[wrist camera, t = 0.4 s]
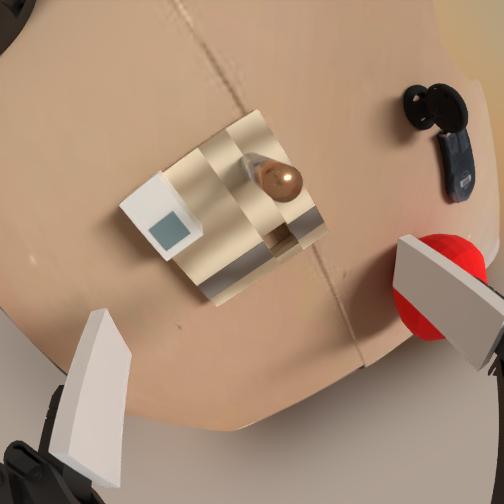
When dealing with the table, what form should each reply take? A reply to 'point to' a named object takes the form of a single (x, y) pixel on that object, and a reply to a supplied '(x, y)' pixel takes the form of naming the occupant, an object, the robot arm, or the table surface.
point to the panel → (238, 211)
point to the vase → (459, 254)
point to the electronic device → (458, 164)
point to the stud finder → (162, 216)
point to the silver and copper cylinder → (272, 176)
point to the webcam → (436, 108)
